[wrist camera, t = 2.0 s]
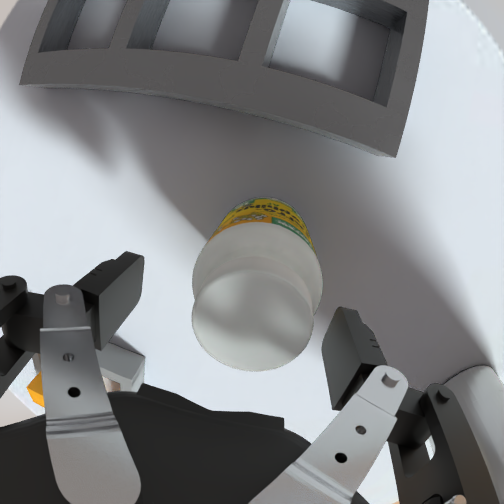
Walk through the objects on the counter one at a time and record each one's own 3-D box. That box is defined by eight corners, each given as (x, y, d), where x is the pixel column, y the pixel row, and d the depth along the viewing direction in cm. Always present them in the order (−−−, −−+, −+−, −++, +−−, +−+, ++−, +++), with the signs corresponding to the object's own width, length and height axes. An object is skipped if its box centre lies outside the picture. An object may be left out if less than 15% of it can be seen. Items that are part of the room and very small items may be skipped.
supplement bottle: (213, 266, 19) (162, 363, 10) (231, 185, 17) (180, 226, 8) (294, 287, 19) (301, 397, 10) (319, 209, 17) (359, 274, 8)
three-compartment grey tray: (411, 11, 12) (430, -7, 9) (377, 155, 16) (397, 157, 13) (90, -31, 12) (70, -46, 9) (45, 87, 16) (17, 84, 13)
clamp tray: (145, 356, 23) (131, 380, 20) (142, 456, 29) (134, 473, 26) (44, 311, 23) (25, 327, 20) (68, 422, 29) (58, 437, 26)
